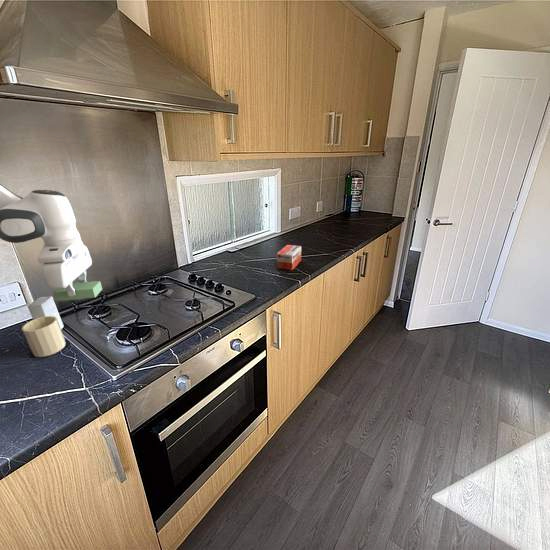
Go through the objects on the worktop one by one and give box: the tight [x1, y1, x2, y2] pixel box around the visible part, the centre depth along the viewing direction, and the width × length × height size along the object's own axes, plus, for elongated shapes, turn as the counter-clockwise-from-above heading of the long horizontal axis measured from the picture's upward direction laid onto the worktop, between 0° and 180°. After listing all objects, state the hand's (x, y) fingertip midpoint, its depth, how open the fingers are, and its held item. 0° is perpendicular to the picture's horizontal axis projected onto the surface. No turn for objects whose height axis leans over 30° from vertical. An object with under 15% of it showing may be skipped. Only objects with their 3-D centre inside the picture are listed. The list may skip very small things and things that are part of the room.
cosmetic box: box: [27, 296, 65, 330], centre depth 95 cm, size 6×4×12 cm
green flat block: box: [52, 280, 103, 302], centre depth 91 cm, size 11×6×3 cm, turn 100°
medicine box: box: [276, 244, 302, 271], centre depth 147 cm, size 15×8×8 cm, turn 158°
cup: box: [21, 316, 67, 358], centre depth 88 cm, size 8×8×9 cm
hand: (78, 289), depth 91 cm, fingers closed on green flat block, 6 cm apart
